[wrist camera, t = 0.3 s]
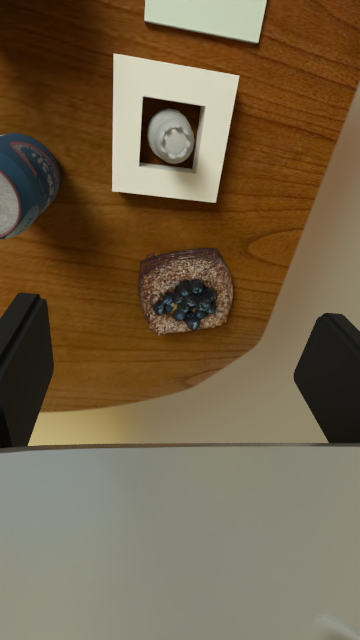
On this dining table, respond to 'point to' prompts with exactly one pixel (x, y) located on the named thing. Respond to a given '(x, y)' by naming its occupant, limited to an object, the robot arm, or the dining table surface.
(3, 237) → the soda can
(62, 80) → the dining table surface
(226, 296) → the pastry
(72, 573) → the robot arm
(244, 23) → the coaster
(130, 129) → the pocket block
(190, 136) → the rook chess piece
